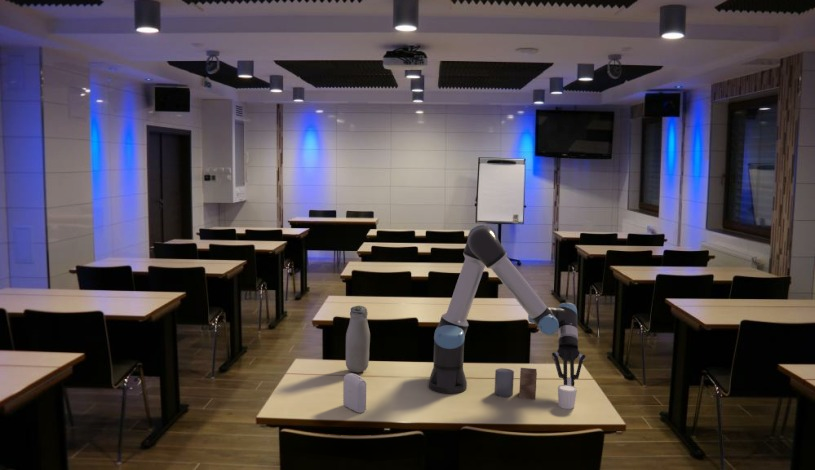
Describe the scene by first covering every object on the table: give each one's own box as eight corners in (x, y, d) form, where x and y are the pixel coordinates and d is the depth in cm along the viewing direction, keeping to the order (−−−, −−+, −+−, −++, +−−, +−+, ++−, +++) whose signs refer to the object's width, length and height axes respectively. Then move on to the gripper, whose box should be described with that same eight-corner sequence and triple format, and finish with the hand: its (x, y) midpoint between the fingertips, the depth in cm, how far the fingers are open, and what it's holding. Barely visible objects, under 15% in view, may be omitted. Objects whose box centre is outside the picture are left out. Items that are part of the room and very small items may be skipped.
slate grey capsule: (494, 396, 244) (495, 373, 243) (494, 389, 251) (495, 367, 250) (512, 397, 243) (513, 375, 242) (512, 391, 250) (513, 369, 249)
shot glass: (554, 407, 235) (555, 388, 234) (559, 401, 241) (560, 383, 240) (573, 411, 232) (574, 392, 231) (577, 404, 238) (579, 386, 237)
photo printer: (341, 405, 231) (341, 372, 230) (351, 402, 234) (351, 369, 232) (357, 414, 223) (358, 380, 222) (367, 411, 226) (368, 377, 224)
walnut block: (519, 398, 243) (520, 372, 242) (519, 392, 249) (520, 367, 248) (535, 399, 242) (536, 373, 241) (535, 393, 248) (536, 368, 247)
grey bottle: (344, 375, 263) (345, 308, 260) (346, 367, 273) (347, 303, 270) (368, 375, 263) (369, 309, 260) (369, 367, 273) (371, 303, 270)
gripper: (584, 345, 255) (585, 400, 241) (550, 342, 258) (550, 397, 243) (586, 335, 250) (588, 392, 235) (552, 333, 252) (552, 389, 237)
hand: (569, 394), depth 239 cm, fingers closed
